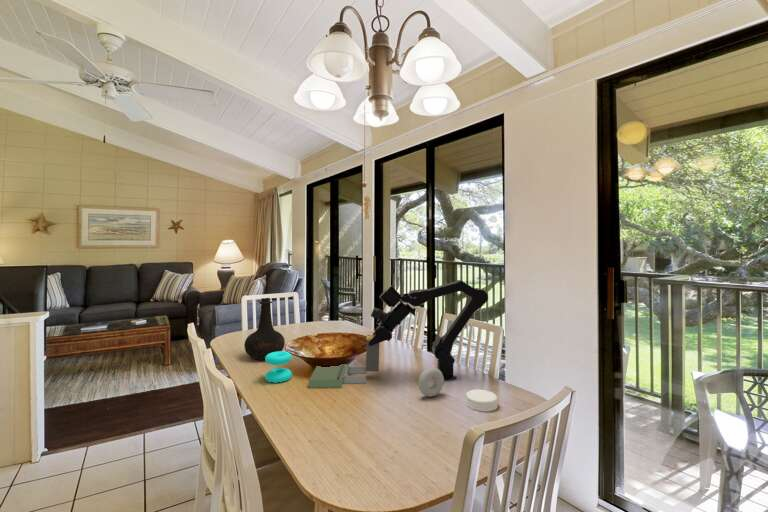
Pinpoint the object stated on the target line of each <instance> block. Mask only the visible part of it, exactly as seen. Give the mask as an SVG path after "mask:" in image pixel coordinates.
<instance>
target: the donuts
mask: <svg viewBox="0 0 768 512" xmlns="http://www.w3.org/2000/svg"><path fill="white" fill-rule="evenodd" d="M292 358H293V357H292V354H291V353H290V352H288V351H284V350H282V351H277V352H272V353H269V354H267V355H266V357H265V360H264V361H265V363H267V364H268V365H271V366H282V365H286V364H288V363H289V362H290V361H291V360H292ZM264 375H265V376H264V378H265V380H266V381H267V382H268V383H271V382H273V384H279V383H278V382H280V383H284V382H286V381H288V380H290V379H291V378H292V375H293V372H292V371H291V370H290V369H288V368H286V367H277V368H276V367H275V368H273V369H270V370H268V371H267V372H266V374H264ZM283 381H284V382H283Z"/></svg>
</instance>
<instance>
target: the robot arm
mask: <svg viewBox="0 0 768 512" xmlns="http://www.w3.org/2000/svg"><path fill="white" fill-rule="evenodd" d="M457 292H462V293H464V295H467V298H466V301H465V303H464V306H463V308H462V309H461V311H460V312H459V313H458V315H457V317H456V318H455V319H454V321H453V322H452V324H451V325H450V326H449V328H448V329H447V331H446V332H445V333H444V335H442V336H440V335H437V336H436V339H435V340H434V341H433V342H432V346H431V349H432V353H433V355H434V357H435V358H436V359H437V367H436V368H437V369H439V370H440V371H441V372H442V374H443V377H444V382H445V381H448V380H454V379H457V376H456V375H454V365H455V361H456V359H455V358H454V357H453V354H452V353H451V352H452V349H453V346H454V342H455V340H456V339H457V338H458V337H459V335H460V334H461V332H462V331H463V329H464V328H465V326H466V325H467V323H468V322H469V320H471V318H472V317H473V315H474V313H475V312H477V311H478V310H479V309H481V308H482V307H483V306H484V305H485V304H486V303H487V302H488V300H489V294H488V293H487V291H486V290H484V289H481V288H479V287H475V288H474V287H473V286H471V285H469V284H467V283H466V282H464V281H463V280H461V279H459V280H458V279H457V280H456V281H453V282H448V283H446V284H441V285H438V286H435V287H431V288H423V289H412V290H410V291H409V292H407V293H401V294H400V292H399V291H397V290H396V288H395V287H394V286H393V285H390V286H389V287H388V288H387V289H385V290H384V291H383V292H382V293H381V294H380V295H379V299H380V300H381V301H382V302H384V304H386V306H387V307H389V308H390V307H391V308H393V309H392V310H391V311H388V312H385V311H384V310H382V309H380V308H377V307H373V309H372V311H371V315H370V317H372V318H373V319H374V318H375V319H377V321H376V327H375V330H374V331H373V333H372V335H374V337H373V338H372V339H371V341H370V342H369V346H372V345H374V344H377V343H379V344H380V343H383V342H385V341H387V342H390V341H391V340H392V338H393V332H394V330H395V329H396V328H397V327H398V326H401V324H402V322H403V321H404V320H405V319H406V318H407V317H408V316H409V315H410V314H411V315H412V316H414V317H415V316H416V309H417V308H416V307H419V306H421V305H423V304H425V303H427V302H428V301H430V300H433V299H436V298H438V297H444V296H447V295H450V294H453V293H457Z"/></svg>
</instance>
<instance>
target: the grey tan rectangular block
mask: <svg viewBox="0 0 768 512" xmlns="http://www.w3.org/2000/svg"><path fill="white" fill-rule="evenodd" d="M373 337H374V335H373V334H366V339H365V340H366V343H365V344H366V347H365V349H366V351H365V354H366V355H365V366H366V371H367V372H375V373H376V372H377V373H378V372H379V371H380V343H377V344H374V345H372V346H369V342H370V341H371V339H372V338H373Z"/></svg>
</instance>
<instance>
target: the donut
mask: <svg viewBox="0 0 768 512" xmlns="http://www.w3.org/2000/svg"><path fill="white" fill-rule="evenodd" d="M432 378H433V380H434V381H433V383H432V385H429V382H430V380H431V379H432ZM444 382H445V381H444V377H443V374H442V372H441V371H440V370H439V369H437V367H435V366H434V367H431V366H430V367H428V368H426V369H424V370H423V371H422V372H421V374H420V376H419V377H418V389H419V391H420V392H421V394H422V395H424V396H426V397H428V398H430V397H432V398H433V397H435V396H437V395H438V394H440V392H441V391H442V390H443V387H444V384H445V383H444Z"/></svg>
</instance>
